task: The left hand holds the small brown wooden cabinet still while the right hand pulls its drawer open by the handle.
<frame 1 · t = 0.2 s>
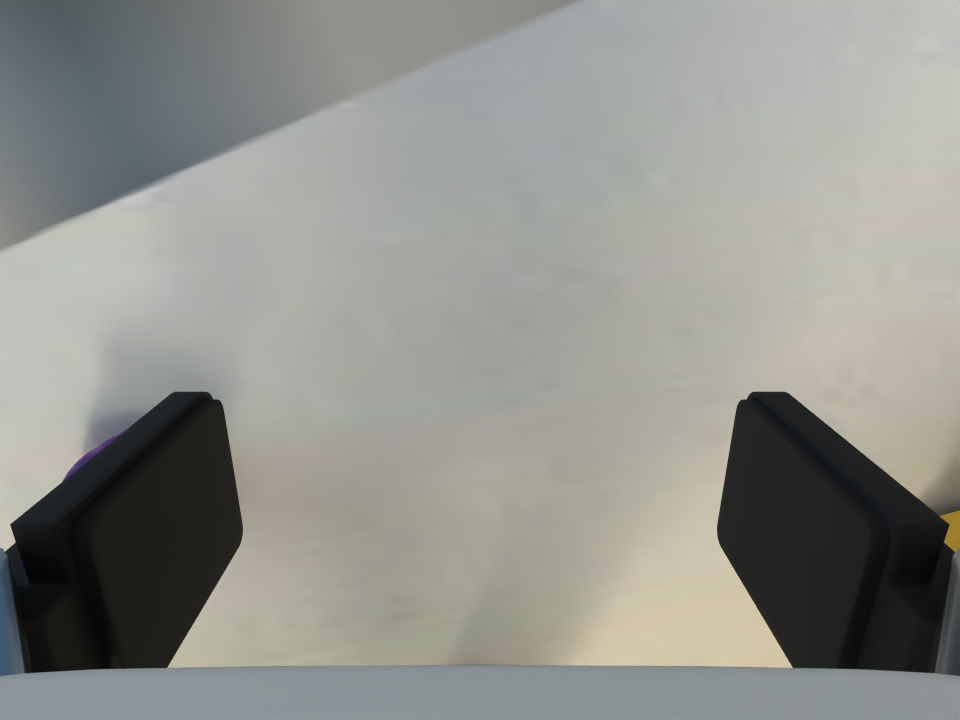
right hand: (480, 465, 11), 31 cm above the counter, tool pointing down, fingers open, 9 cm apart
figurine: (171, 463, 46), on the counter
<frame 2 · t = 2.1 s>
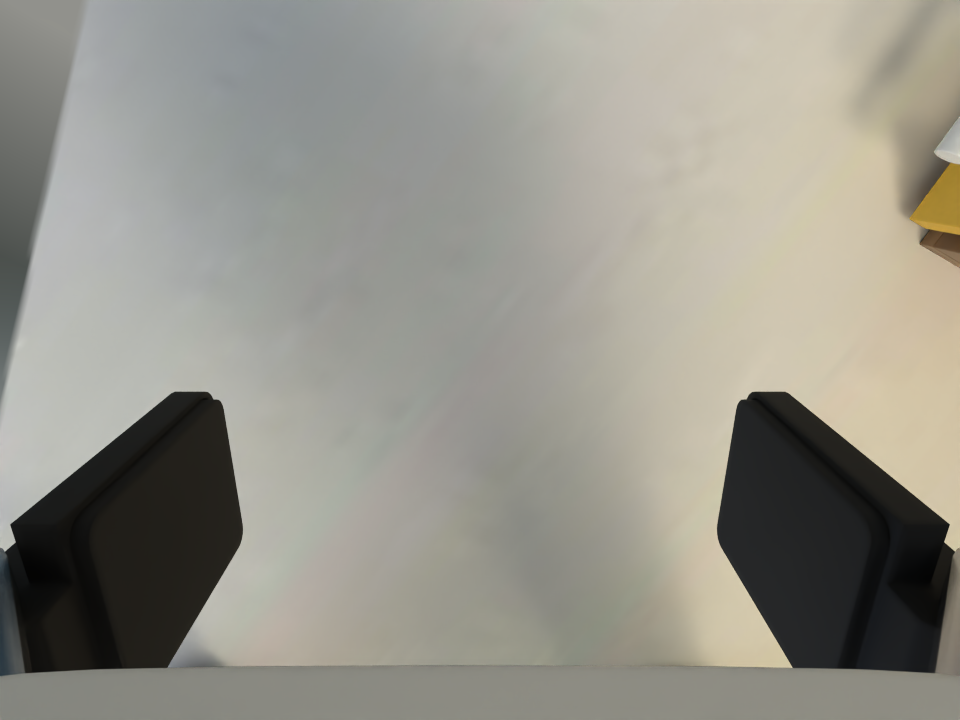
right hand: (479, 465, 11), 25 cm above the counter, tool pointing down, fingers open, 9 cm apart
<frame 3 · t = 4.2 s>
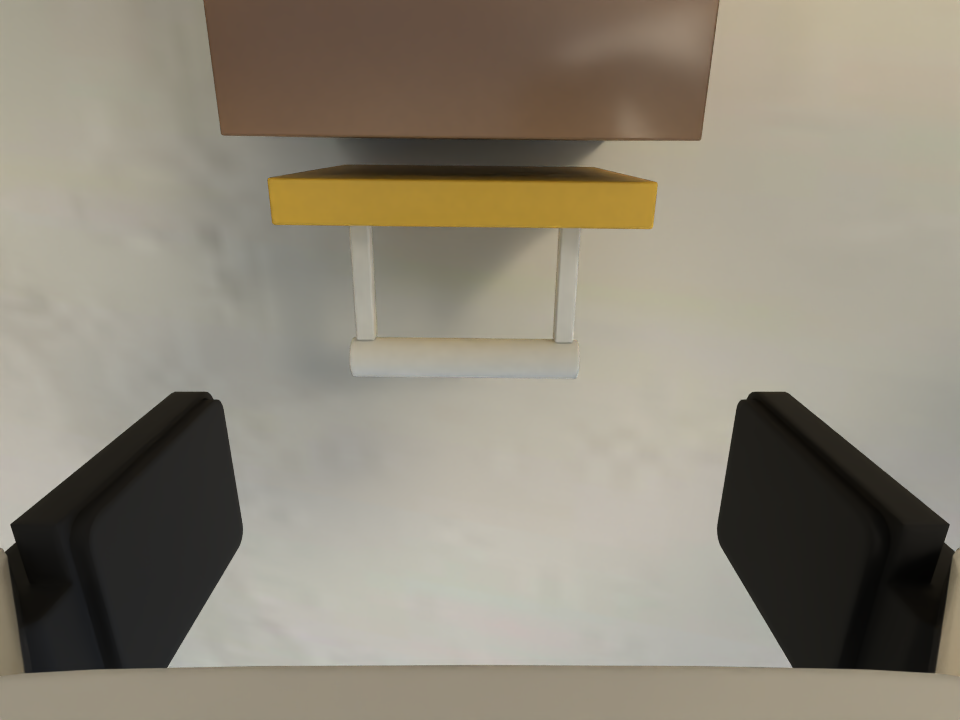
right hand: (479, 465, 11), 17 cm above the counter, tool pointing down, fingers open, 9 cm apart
drawer: (467, 44, 18), point 6 cm above the counter, slide at 1.0 cm
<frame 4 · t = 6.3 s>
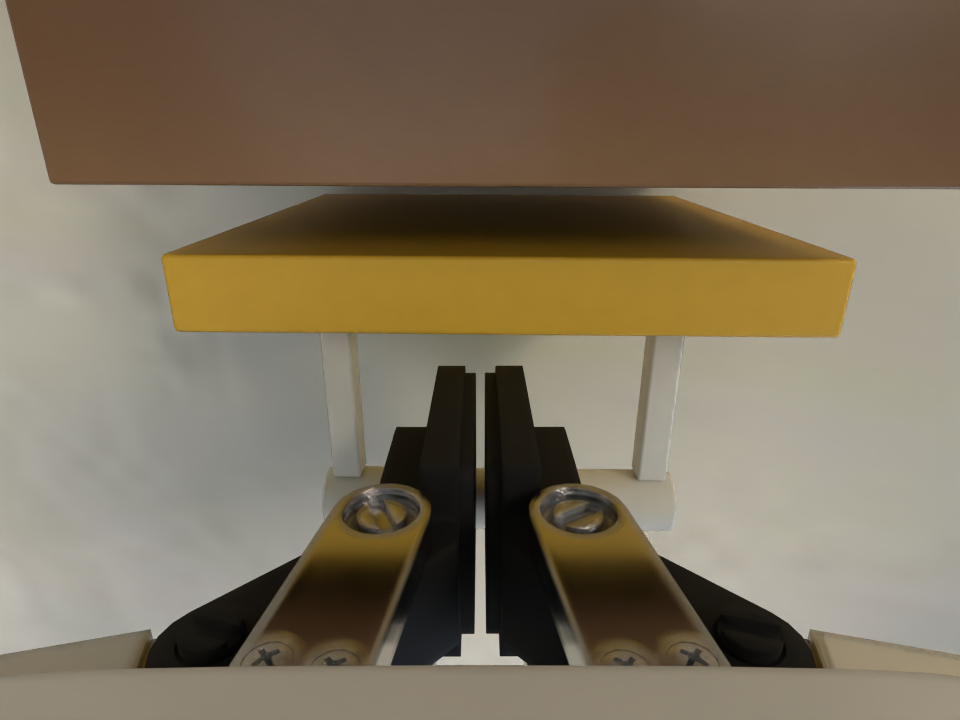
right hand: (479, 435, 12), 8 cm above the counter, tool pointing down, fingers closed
drawer: (504, 18, 11), point 6 cm above the counter, slide at 1.1 cm, touching right hand
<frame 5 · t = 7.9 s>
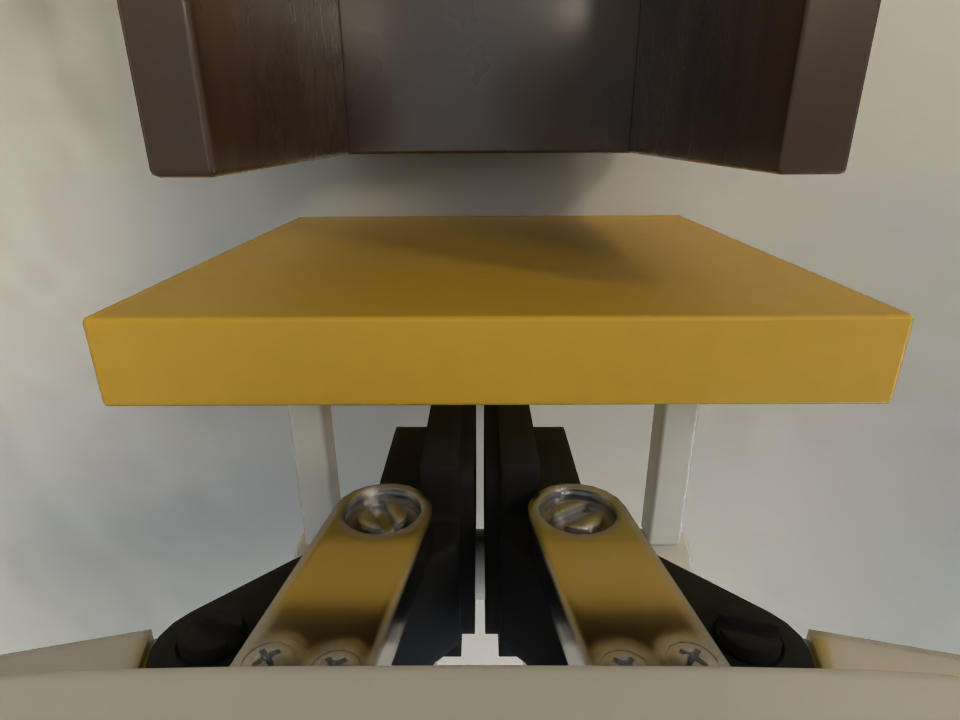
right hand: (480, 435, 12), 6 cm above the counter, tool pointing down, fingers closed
drawer: (491, 27, 10), point 5 cm above the counter, slide at 9.2 cm, touching right hand
when the left hand's fingers open (7 cm above the counter, at t = 9.6 s): cabinet stays where it is, on the counter.
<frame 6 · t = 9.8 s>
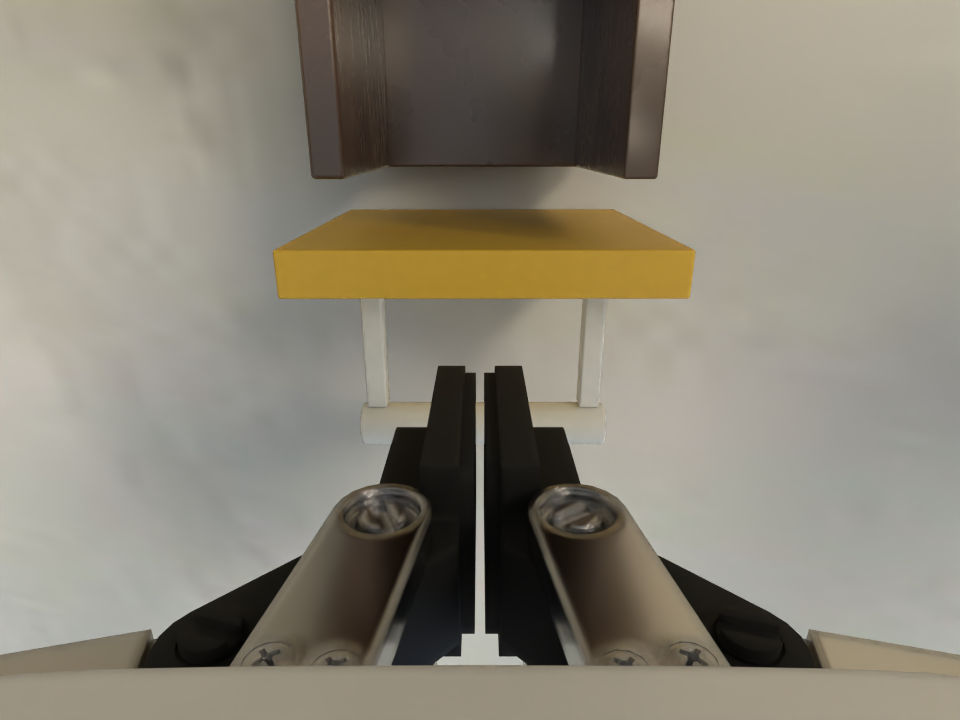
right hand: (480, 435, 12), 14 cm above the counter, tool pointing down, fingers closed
drawer: (483, 93, 17), point 6 cm above the counter, slide at 9.1 cm
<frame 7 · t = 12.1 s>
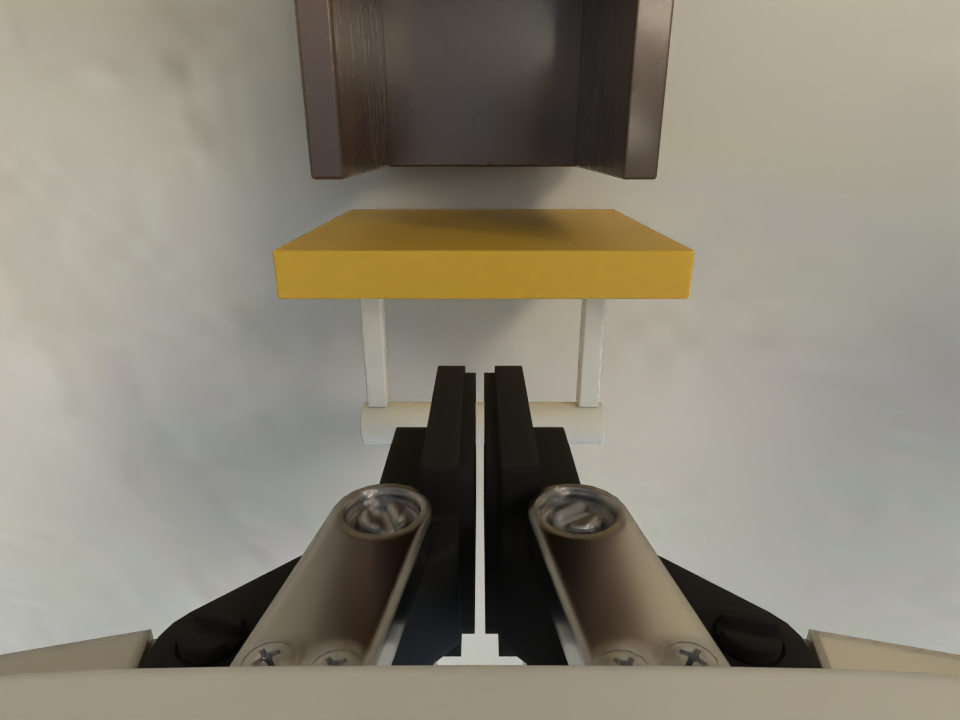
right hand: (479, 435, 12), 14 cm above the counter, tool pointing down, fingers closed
drawer: (482, 93, 17), point 6 cm above the counter, slide at 9.1 cm
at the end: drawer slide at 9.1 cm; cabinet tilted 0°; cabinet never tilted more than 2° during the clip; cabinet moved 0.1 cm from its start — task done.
